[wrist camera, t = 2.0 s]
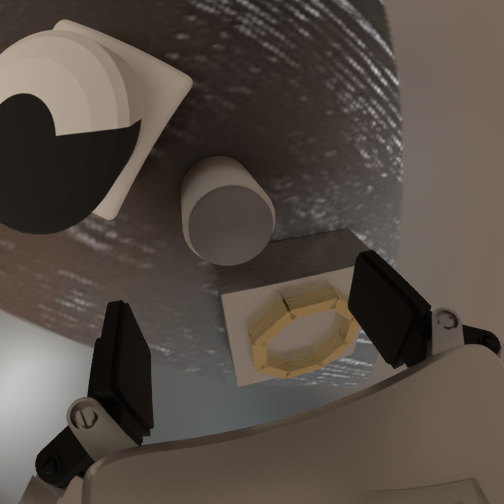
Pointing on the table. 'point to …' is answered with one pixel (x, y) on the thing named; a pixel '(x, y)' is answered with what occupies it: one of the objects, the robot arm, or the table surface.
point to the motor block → (290, 306)
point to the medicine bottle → (77, 124)
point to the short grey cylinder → (225, 212)
